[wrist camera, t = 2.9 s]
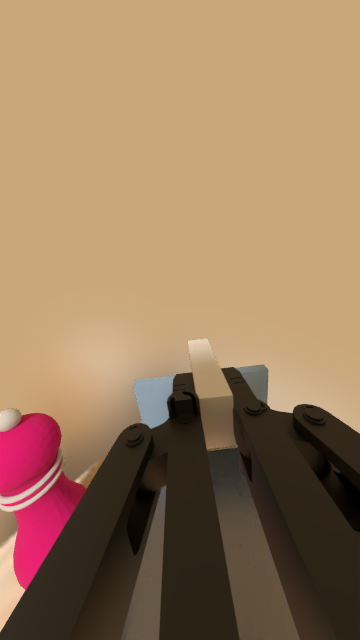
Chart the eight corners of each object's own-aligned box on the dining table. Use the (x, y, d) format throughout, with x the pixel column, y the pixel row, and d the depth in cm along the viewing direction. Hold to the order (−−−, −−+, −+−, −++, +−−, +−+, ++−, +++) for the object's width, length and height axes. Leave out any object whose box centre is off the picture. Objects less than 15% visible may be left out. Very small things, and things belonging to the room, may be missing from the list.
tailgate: (259, 426, 28) (260, 360, 24) (265, 440, 26) (268, 369, 22) (152, 439, 28) (137, 375, 24) (150, 453, 26) (133, 386, 22)
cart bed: (285, 463, 26) (286, 428, 25) (398, 662, 13) (418, 615, 11) (137, 480, 27) (128, 446, 25) (97, 691, 13) (72, 650, 12)
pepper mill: (98, 500, 25) (53, 376, 20) (112, 563, 19) (55, 412, 14) (34, 549, 21) (-42, 410, 16) (28, 646, 15) (-95, 479, 10)
